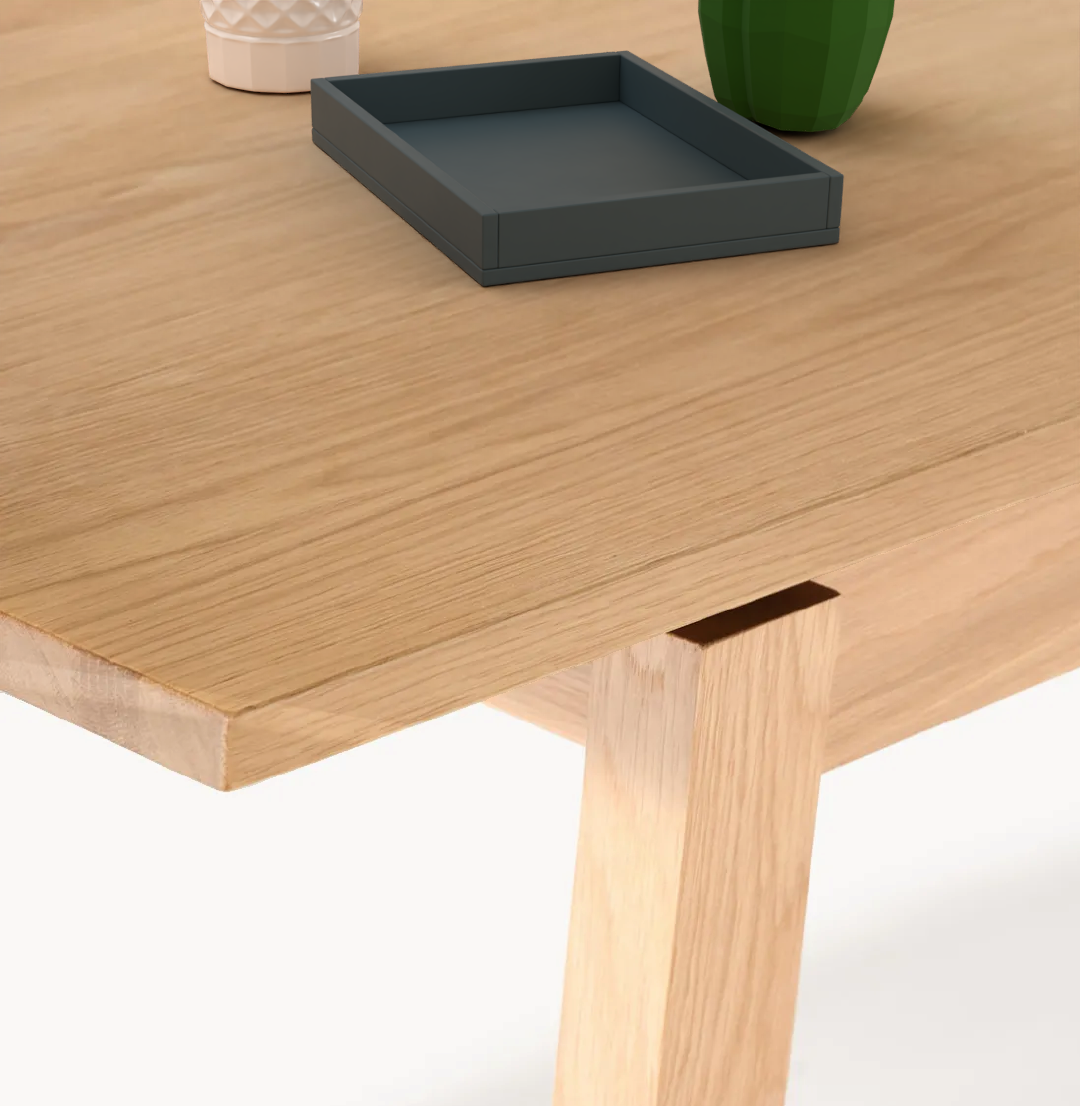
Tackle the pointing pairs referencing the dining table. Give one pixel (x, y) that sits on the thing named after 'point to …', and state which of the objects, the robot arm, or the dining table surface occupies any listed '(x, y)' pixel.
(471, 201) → the tray
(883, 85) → the dining table surface
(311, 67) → the white cup
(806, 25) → the bell pepper
